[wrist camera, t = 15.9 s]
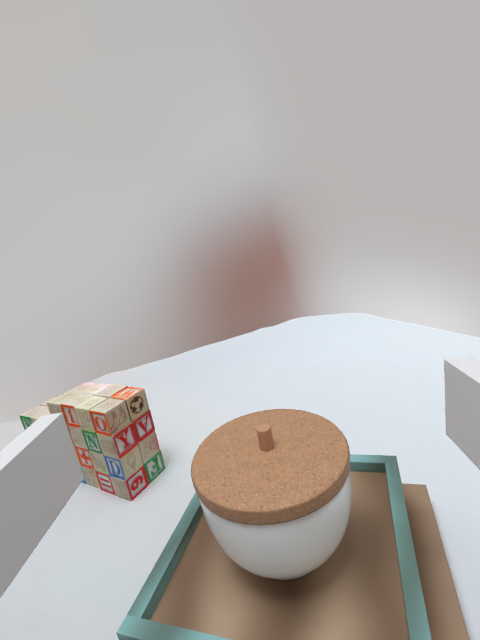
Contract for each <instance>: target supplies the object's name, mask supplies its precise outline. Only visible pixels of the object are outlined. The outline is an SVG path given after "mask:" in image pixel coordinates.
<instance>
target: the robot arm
mask: <svg viewBox="0 0 480 640" xmlns="http://www.w3.org/2000/svg"><path fill="white" fill-rule="evenodd" d="M444 371H445V411H446V434H447V435H448V437H449V438H450V439H451V440H452V441H453V442H454V443H455V444H456V445H457V446H458V447H459V448H460V449H461V450H462V451H463V453H464V454H465V455H466V456H467V457H468V458H469V459H470V460H471V461H472V462H473V463H474V464H475V465H476V466H477V467H478V468H479V470H480V362H478V361H477V360H475V359H473V358H472V357H470V356H465V357H458V358H451V359H444ZM83 479H84V475H83V472H82V469H81V466H80V463H79V461H78V458H77V455H76V452H75V449H74V446H73V443H72V440H71V437H70V434H69V431H68V428H67V425H66V422H65V419H64V416H63V413H55V414H48V415H42V416H41V417H40V418H39V419H37V420H36V421H35V422H34V423H33V424H32V425H30V426H29V427H28V428H27V429H26V430H25V431H23V432H22V433H21V434H20V435H19V436H18V437H16V438H15V439H14V440H13V441H12V442H11V443H10V444H8V445H7V446H6V447H5V448H4V449H3V450H1V451H0V598H1V596H2V595H3V594H4V592H5V591H6V589H7V588H8V586H9V585H10V584H11V582H12V581H13V579H14V578H15V576H16V575H17V573H18V572H19V571H20V569H21V568H22V566H23V565H24V563H25V562H26V561H27V559H28V558H29V556H30V555H31V553H32V552H33V550H34V549H35V548H36V546H37V545H38V543H39V542H40V540H41V539H42V538H43V536H44V535H45V533H46V532H47V530H48V529H49V528H50V526H51V525H52V523H53V522H54V520H55V519H56V517H57V516H58V515H59V513H60V512H61V510H62V509H63V507H64V506H65V505H66V503H67V502H68V500H69V499H70V497H71V496H72V494H73V493H74V492H75V490H76V489H77V487H78V486H79V484H80V483H81V482H82V480H83Z"/></svg>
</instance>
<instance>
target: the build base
mask: <svg viewBox="0 0 480 640" xmlns="http://www.w3.org/2000/svg"><path fill="white" fill-rule="evenodd" d="M350 476H351V490H352V496H351V509H350V515H349V521H348V525H347V528H346V531H345V534H344V536H343V539H342V541H341V543H340V544H339V546H338V548H337V549H336V550H335V552H334V553H333V554H332V555H331V556H330V558H329V559H328V560H327V561H326V562H325V563H323V564H322V565H321V566H320V567H318V568H317V569H315V570H313V571H311V572H310V573H308V574H306V575H305V576H302V577H300V578H297V579H292V580H277V579H271V578H265V577H261V576H258V575H255V574H253V573H251V572H249V571H247V570H245V569H243V568H242V567H240V566H239V565H238V564H236V563H235V562H234V561H233V560H232V559H231V558H230V557H229V556H228V555H227V554H226V553H225V552H224V551H223V550H222V549H221V547H220V545H219V544H218V542H217V541H216V539H215V537H214V536H213V534H212V532H211V530H210V528H209V526H208V524H207V521H206V519H205V516H204V513H203V510H202V507H201V504H200V501H199V498H198V496H197V493H195V495H194V497H193V498H192V500H191V502H190V504H189V505H188V507H187V509H186V511H185V513H184V514H183V516H182V518H181V520H180V521H179V523H178V525H177V527H176V529H175V530H174V532H173V534H172V536H171V537H170V539H169V541H168V543H167V545H166V546H165V548H164V550H163V552H162V553H161V555H160V557H159V559H158V561H157V562H156V564H155V566H154V568H153V570H152V571H151V573H150V575H149V577H148V578H147V580H146V582H145V584H144V586H143V587H142V589H141V591H140V593H139V594H138V596H137V598H136V600H135V602H134V603H133V605H132V607H131V609H130V610H129V612H128V614H127V616H126V618H125V619H124V621H123V623H122V625H121V626H120V628H119V630H118V632H117V635H118V638H119V640H469V636H468V633H467V629H466V626H465V622H464V619H463V615H462V611H461V608H460V604H459V601H458V597H457V594H456V590H455V587H454V583H453V580H452V576H451V573H450V569H449V565H448V562H447V558H446V555H445V551H444V548H443V544H442V541H441V537H440V534H439V530H438V527H437V523H436V519H435V516H434V512H433V509H432V505H431V502H430V498H429V495H428V491H427V488H426V485H417V484H402V483H401V478H400V473H399V468H398V463H397V458H396V456H382V455H350Z"/></svg>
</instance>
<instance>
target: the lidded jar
mask: <svg viewBox="0 0 480 640" xmlns="http://www.w3.org/2000/svg"><path fill="white" fill-rule="evenodd" d="M191 476H192V481H193V485H194V488H195V491H196V493H197V496H198V498H199V501H200V504H201V507H202V510H203V513H204V516H205V519H206V521H207V524H208V526H209V528H210V530H211V532H212V534H213V536H214V537H215V539H216V541H217V542H218V544H219V545H220V547H221V549H222V550H223V551H224V552H225V553H226V554H227V555H228V556H229V557H230V558H231V559H232V560H233V561H234V562H235V563H236V564H238V565H239V566H240V567H242V568H243V569H245V570H247V571H249V572H251V573H253V574H255V575H258V576H261V577H265V578H271V579H277V580H292V579H297V578H300V577H302V576H305V575H306V574H308V573H310V572H311V571H313V570H315V569H317V568H318V567H320V566H321V565H322V564H323V563H325V562H326V561H327V560H328V559H329V558H330V556H331V555H332V554H333V553H334V552H335V550H336V549H337V548H338V546H339V544H340V543H341V541H342V539H343V536H344V534H345V531H346V528H347V525H348V521H349V515H350V509H351V496H352V490H351V476H350V452H349V446H348V443H347V440H346V438H345V436H344V435H343V433H342V432H341V431H340V430H339V429H338V428H337V426H336V425H334V424H333V423H332V422H330V421H329V420H327V419H325V418H323V417H321V416H319V415H316V414H313V413H310V412H306V411H301V410H294V409H273V410H264V411H259V412H255V413H251V414H247V415H244V416H241V417H239V418H236V419H234V420H232V421H230V422H227V423H226V424H224V425H222V426H221V427H219V428H218V429H216V430H215V431H214V432H212V433H211V434H210V435H209V436H208V437H207V438H206V439H205V440H204V441H203V442H202V444H201V445H200V446H199V448H198V450H197V451H196V453H195V455H194V458H193V461H192V466H191Z"/></svg>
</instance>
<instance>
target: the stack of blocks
mask: <svg viewBox="0 0 480 640" xmlns="http://www.w3.org/2000/svg"><path fill="white" fill-rule="evenodd" d="M55 413H63V416H64V419H65V422H66V425H67V428H68V431H69V434H70V437H71V440H72V443H73V446H74V449H75V452H76V455H77V458H78V461H79V463H80V466H81V469H82V472H83V475H84V479H83V480H82V482H83V483H86V484H89V485H91V486H94V487H97V488H100V489H101V490H103V491H106V492H109V493H111V494H114V495H116V496H119V497H121V498H124V499H126V500H129V501H132V500H133V499H134V498H135V497H136V496H137V495H139V494H140V493H141V492H142V491H143V490H144V489H145V488H146V487H147V486H148V485H149V484H150V483H151V482H152V481H153V480H154V479H155V478H156V477H157V476H158V475H159V474H160V473H161V472H162V471H163V470H164V469H165V466H164V462H163V458H162V454H161V451H160V449H159V444H158V440H157V436H156V433H155V427H154V423H153V420H152V416H151V412H150V410H149V406H148V402H147V398H146V394H145V390H144V388H135V387H128V386H127V385H117V384H101V383H100V384H98V383H88V382H85V383H83V384H81V385H79V386H77V387H75V388H73V389H72V390H70V391H68V392H66V393H64V394H62V395H60V396H56V397H54V398H52V399H50V400H48V401H46V402H44V403H42V404H40V405H39V406H37V407H35V408H33V409H31V410H29V411H27V412H25V413H23V414H21V415H20V418H21V421H22V424H23V427H24V429H25V430H26V429H27V428H28V427H29V426H30V425H32V424H33V423H34V422H35V421H36V420H37V419H39V418H40V417H41V416H42V415H48V414H55Z"/></svg>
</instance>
